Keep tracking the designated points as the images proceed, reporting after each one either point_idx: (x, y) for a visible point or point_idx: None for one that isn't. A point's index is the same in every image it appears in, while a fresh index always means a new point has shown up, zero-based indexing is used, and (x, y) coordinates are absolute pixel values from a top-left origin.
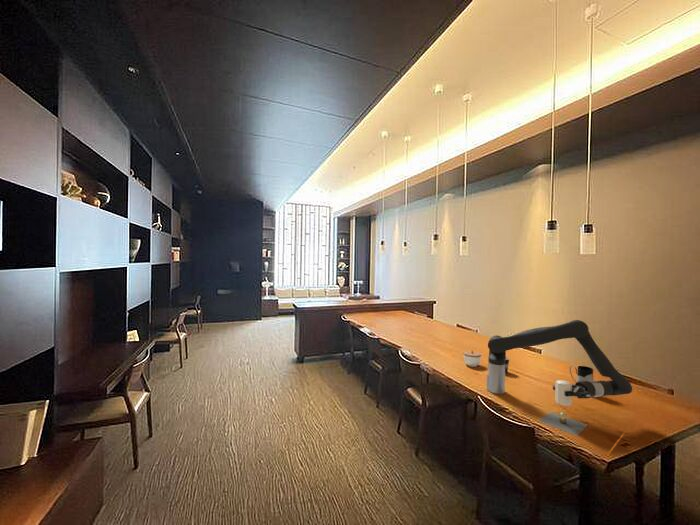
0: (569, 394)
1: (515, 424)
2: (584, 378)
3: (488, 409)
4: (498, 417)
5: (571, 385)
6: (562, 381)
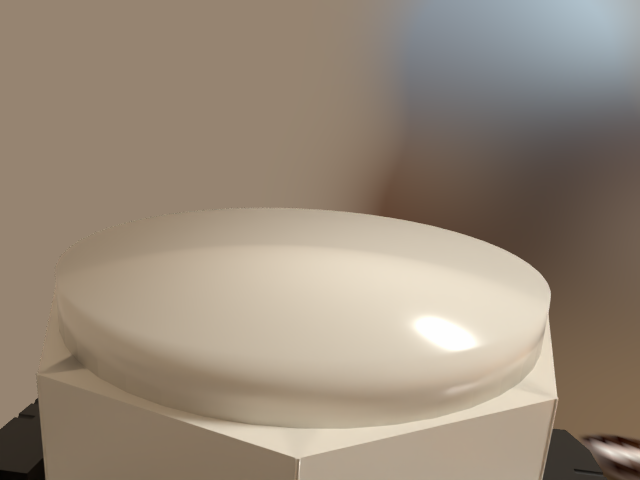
0: None
1: None
2: None
3: (600, 441)
4: None
5: (43, 351)
6: (389, 269)
